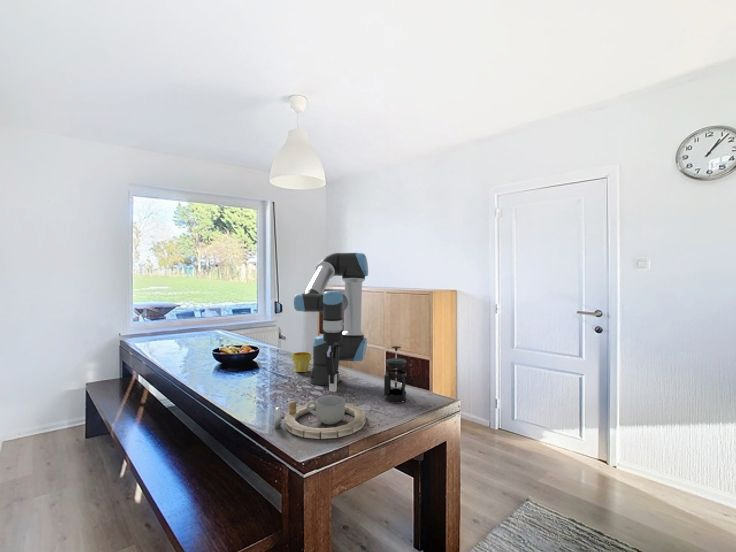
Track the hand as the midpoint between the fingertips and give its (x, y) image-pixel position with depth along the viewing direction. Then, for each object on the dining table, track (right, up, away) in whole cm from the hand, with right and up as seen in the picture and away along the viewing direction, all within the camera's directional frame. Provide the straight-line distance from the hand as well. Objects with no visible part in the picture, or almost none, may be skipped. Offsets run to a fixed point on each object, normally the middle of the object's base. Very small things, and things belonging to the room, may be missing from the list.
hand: (332, 390), depth 147 cm
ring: (-2, -9, -9) cm, 13 cm away
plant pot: (-23, -8, +60) cm, 65 cm away
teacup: (-2, -9, -9) cm, 13 cm away
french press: (+25, -9, +15) cm, 31 cm away
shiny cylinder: (-18, -9, -15) cm, 25 cm away
